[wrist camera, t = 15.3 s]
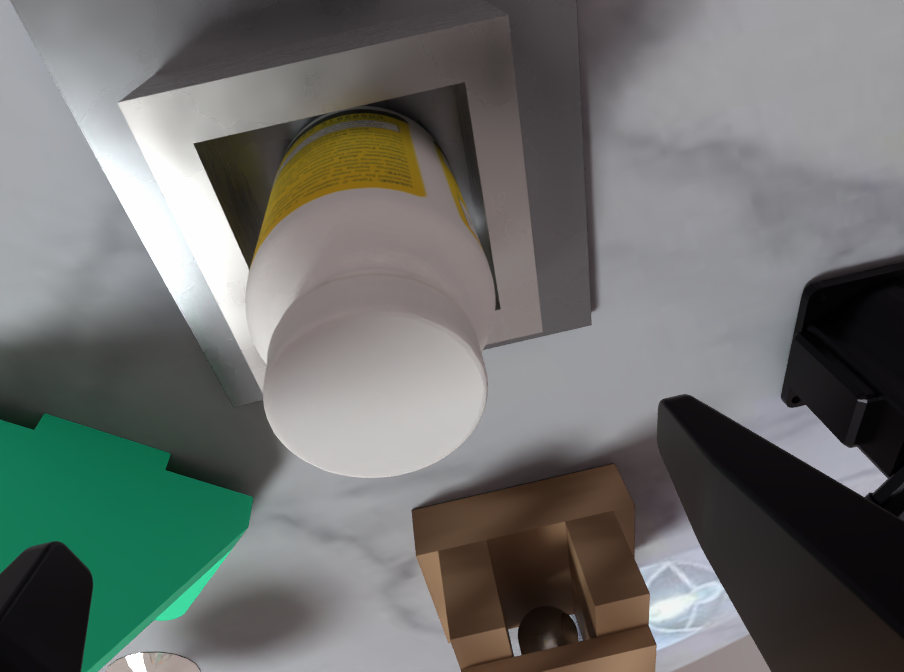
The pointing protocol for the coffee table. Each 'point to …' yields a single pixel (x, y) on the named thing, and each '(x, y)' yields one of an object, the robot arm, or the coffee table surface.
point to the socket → (307, 98)
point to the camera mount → (115, 523)
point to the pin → (546, 630)
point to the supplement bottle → (369, 298)
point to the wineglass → (153, 663)
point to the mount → (539, 573)
